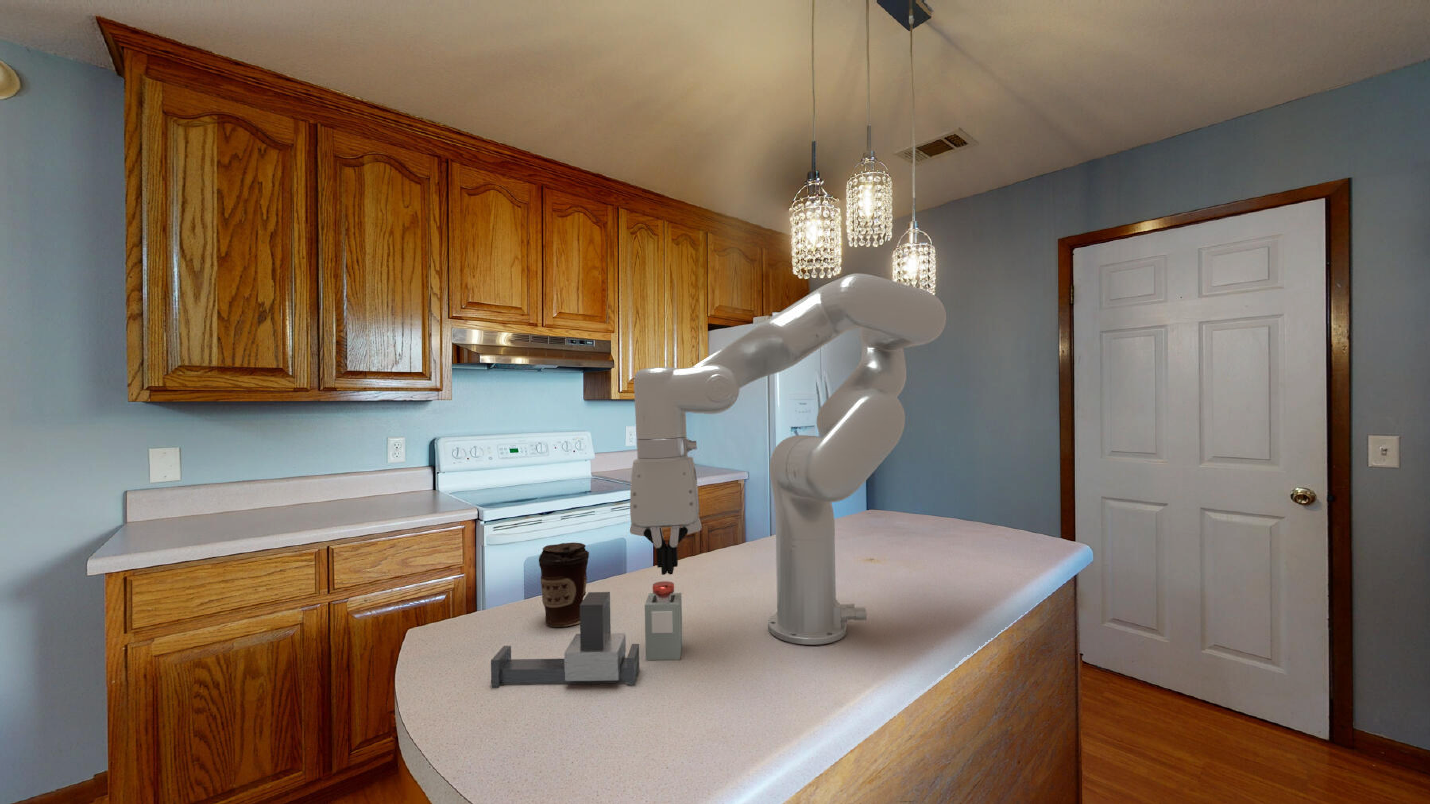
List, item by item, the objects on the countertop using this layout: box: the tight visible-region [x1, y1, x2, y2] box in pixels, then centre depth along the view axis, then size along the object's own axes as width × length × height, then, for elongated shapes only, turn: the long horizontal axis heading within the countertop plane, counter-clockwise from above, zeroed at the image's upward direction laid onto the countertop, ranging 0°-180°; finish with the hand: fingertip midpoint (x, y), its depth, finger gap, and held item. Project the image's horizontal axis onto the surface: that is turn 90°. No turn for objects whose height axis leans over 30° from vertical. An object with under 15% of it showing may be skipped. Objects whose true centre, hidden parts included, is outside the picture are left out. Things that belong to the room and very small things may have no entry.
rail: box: [490, 643, 640, 689], centre depth 75 cm, size 19×4×4 cm, turn 90°
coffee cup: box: [538, 542, 590, 628], centre depth 95 cm, size 9×8×13 cm
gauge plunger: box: [652, 580, 675, 603], centre depth 82 cm, size 3×3×7 cm
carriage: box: [563, 591, 627, 681], centre depth 75 cm, size 7×6×10 cm
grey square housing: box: [644, 592, 683, 661], centre depth 82 cm, size 5×5×8 cm
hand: (667, 571), depth 83 cm, fingers closed
